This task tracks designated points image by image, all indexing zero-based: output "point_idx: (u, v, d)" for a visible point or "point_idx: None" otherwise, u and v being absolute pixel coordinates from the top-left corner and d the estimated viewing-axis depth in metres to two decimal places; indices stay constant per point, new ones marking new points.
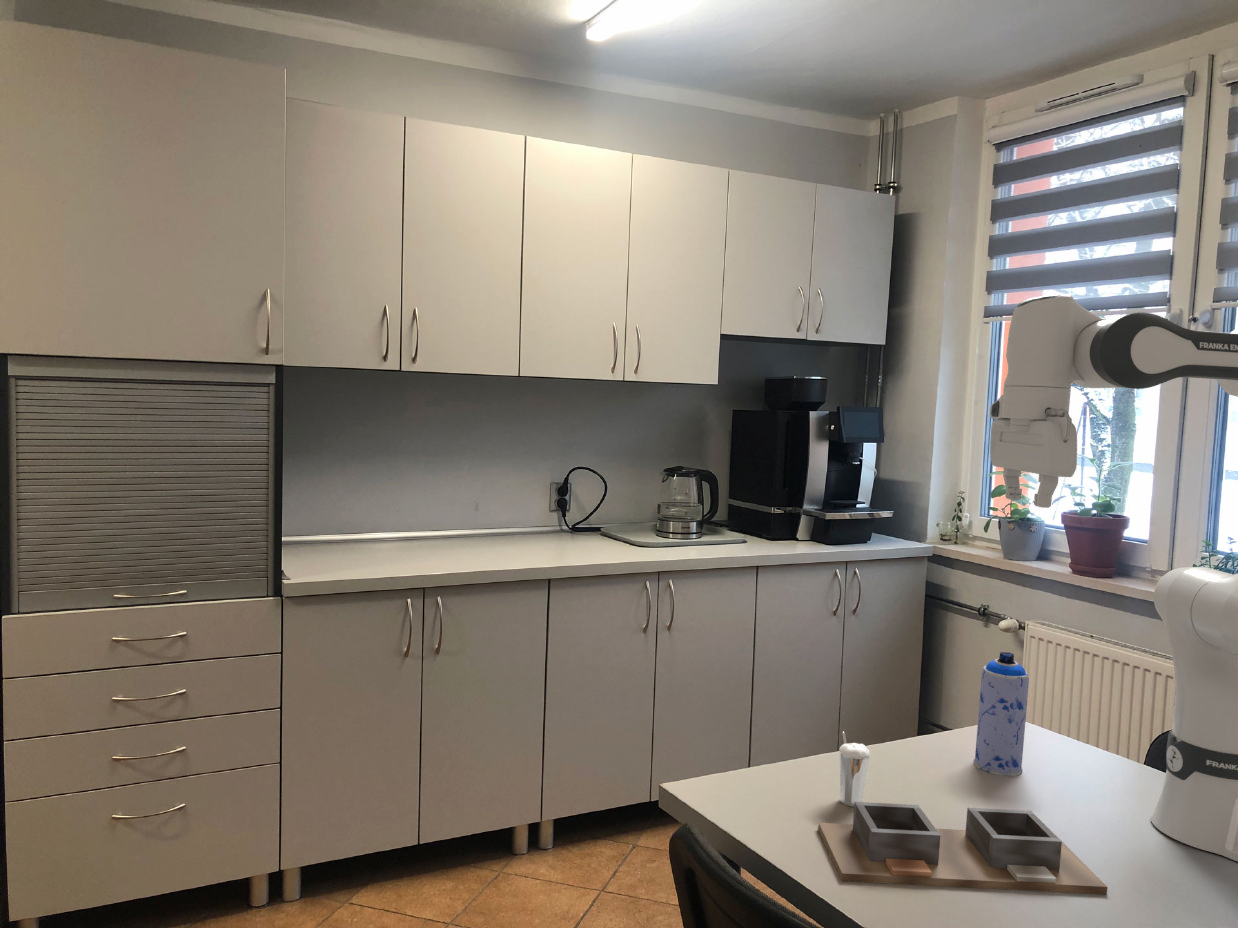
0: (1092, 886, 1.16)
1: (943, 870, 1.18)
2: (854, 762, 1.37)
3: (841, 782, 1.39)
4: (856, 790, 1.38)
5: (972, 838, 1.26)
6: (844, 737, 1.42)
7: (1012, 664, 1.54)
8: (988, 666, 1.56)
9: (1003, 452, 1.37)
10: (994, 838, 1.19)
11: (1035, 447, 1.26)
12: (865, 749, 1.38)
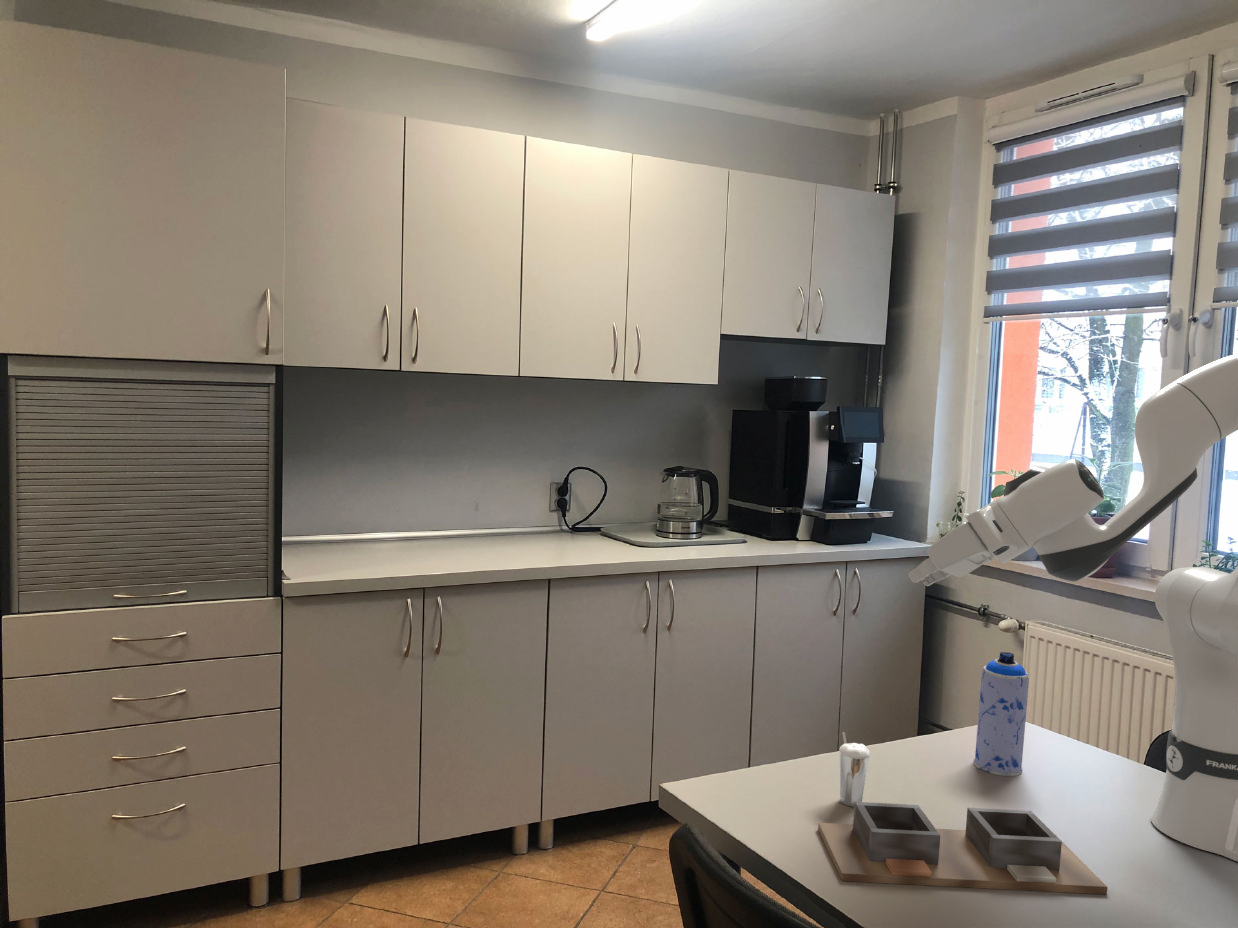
0: (1092, 886, 1.16)
1: (943, 870, 1.18)
2: (854, 762, 1.37)
3: (841, 782, 1.39)
4: (856, 790, 1.38)
5: (972, 838, 1.26)
6: (844, 737, 1.42)
7: (1012, 664, 1.54)
8: (988, 666, 1.56)
9: (957, 564, 1.36)
10: (994, 838, 1.19)
11: (975, 564, 1.45)
12: (865, 749, 1.38)
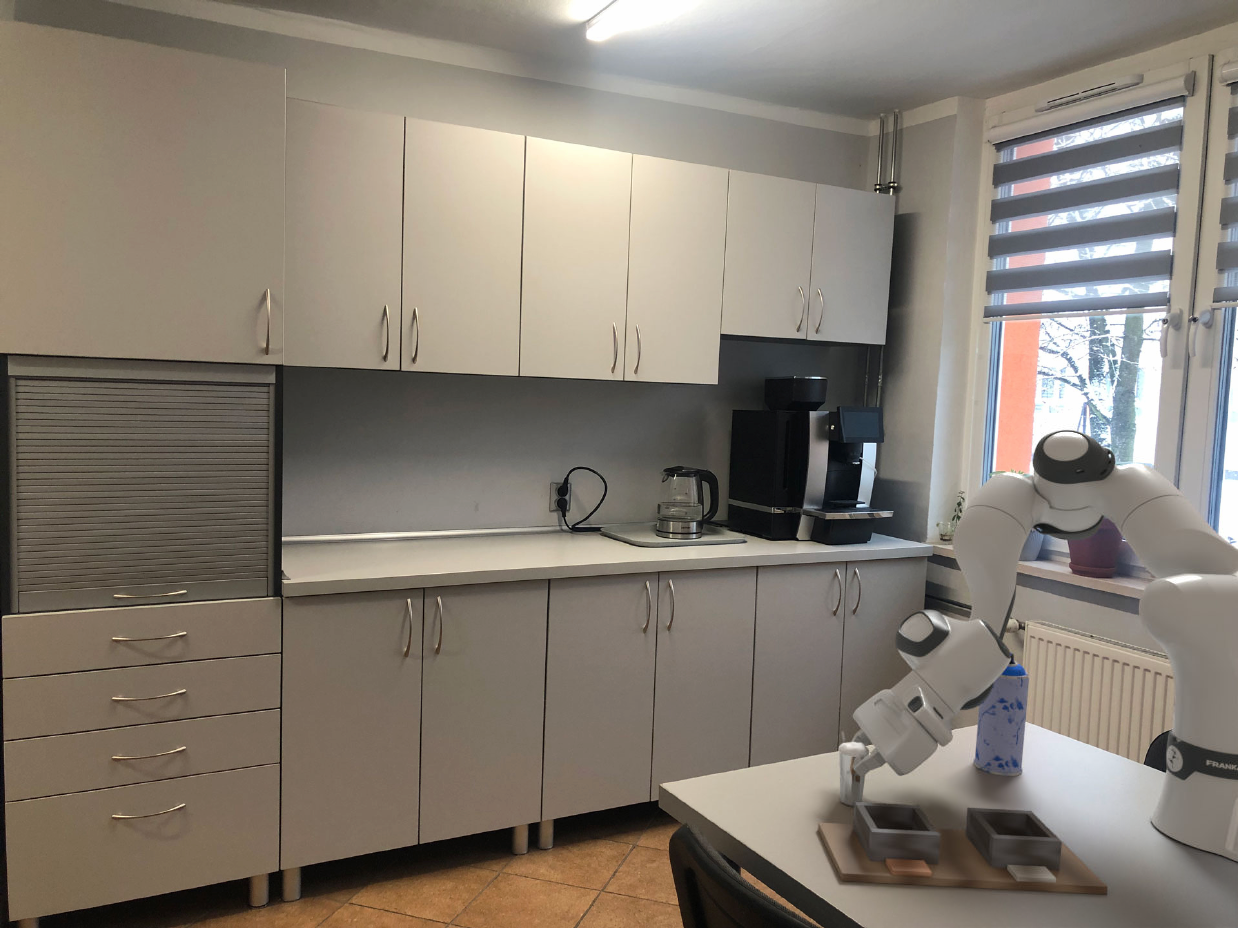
0: (1092, 886, 1.16)
1: (943, 870, 1.18)
2: (853, 760, 1.37)
3: (841, 781, 1.39)
4: (856, 789, 1.38)
5: (972, 838, 1.26)
6: (843, 736, 1.42)
7: (1012, 664, 1.54)
8: None
9: None
10: (994, 838, 1.19)
11: None
12: (864, 747, 1.39)
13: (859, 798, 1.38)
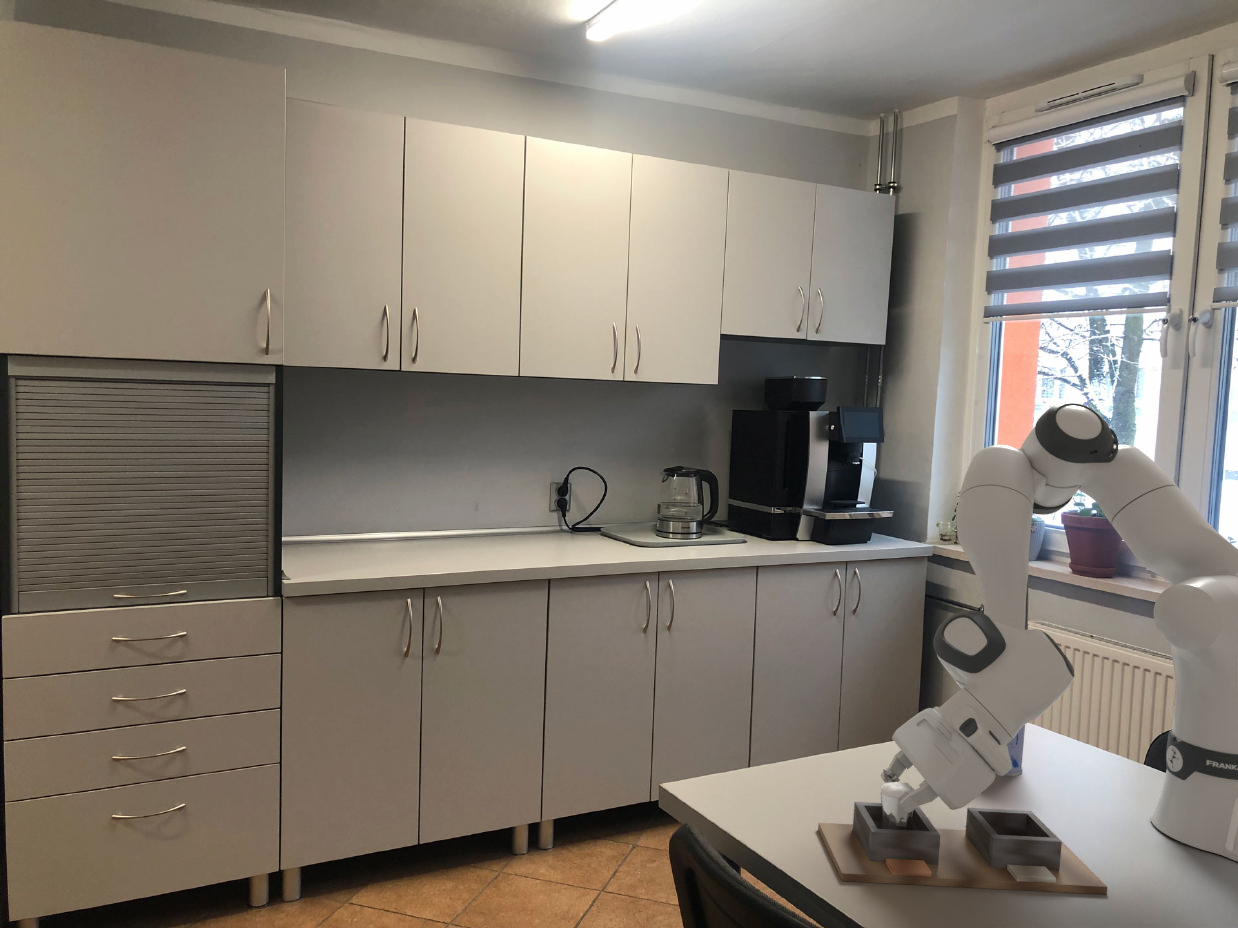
0: (1092, 886, 1.16)
1: (943, 870, 1.18)
2: (898, 803, 1.20)
3: (884, 827, 1.22)
4: None
5: (972, 838, 1.26)
6: (885, 775, 1.25)
7: None
8: None
9: None
10: (994, 838, 1.19)
11: None
12: (910, 789, 1.22)
13: None
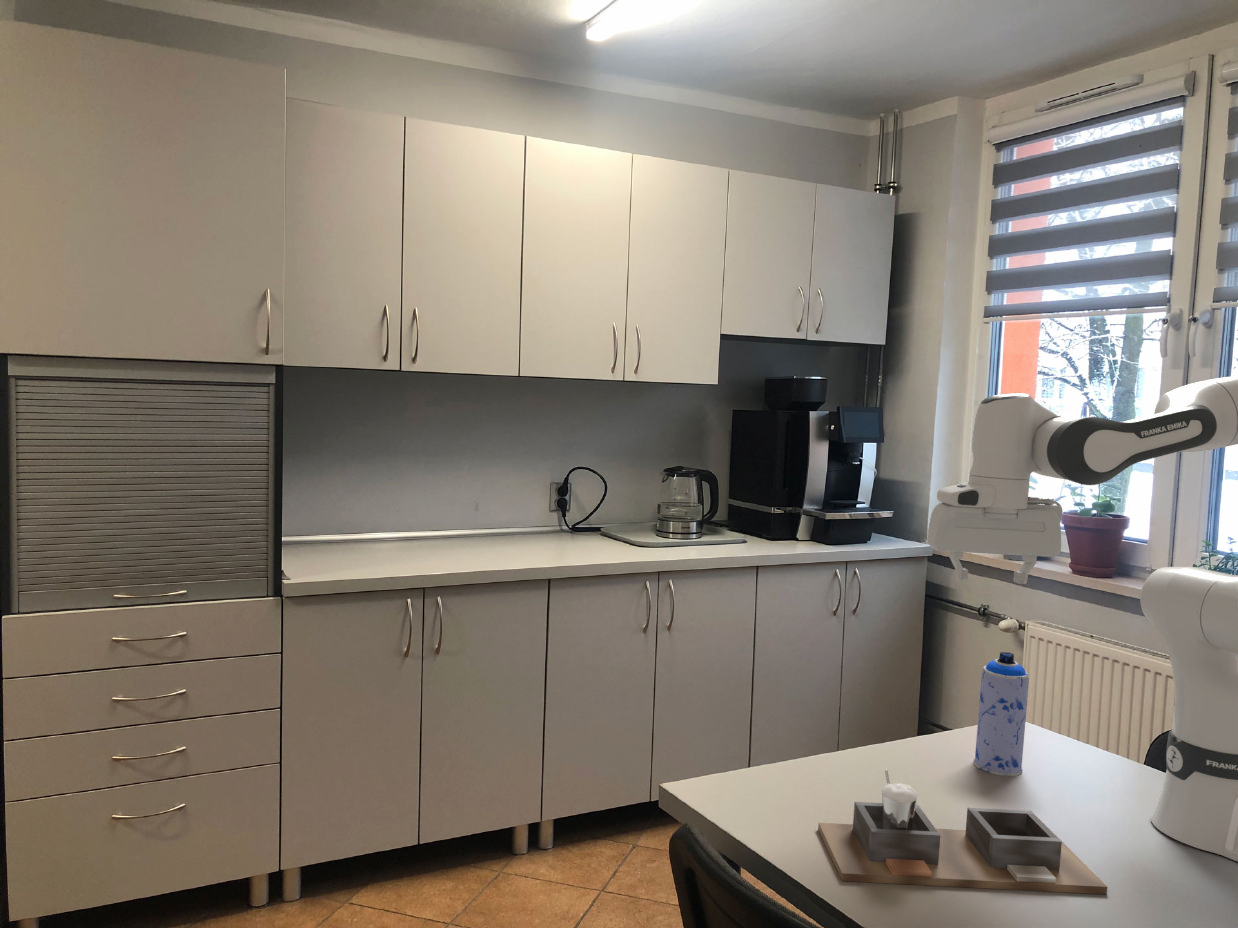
0: (1092, 886, 1.16)
1: (943, 870, 1.18)
2: (900, 806, 1.20)
3: (884, 828, 1.22)
4: None
5: (972, 838, 1.26)
6: (887, 776, 1.25)
7: (1012, 664, 1.54)
8: (988, 666, 1.56)
9: (965, 537, 1.42)
10: (994, 838, 1.19)
11: (1031, 532, 1.42)
12: (912, 791, 1.21)
13: None
